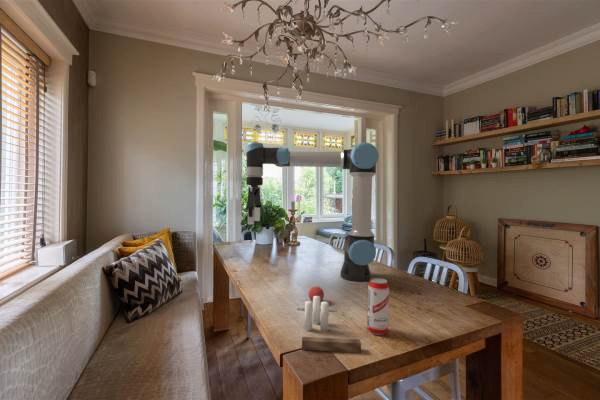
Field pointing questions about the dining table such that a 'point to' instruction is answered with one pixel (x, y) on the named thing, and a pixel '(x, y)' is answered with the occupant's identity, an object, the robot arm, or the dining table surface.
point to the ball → (316, 293)
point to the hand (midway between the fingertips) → (254, 222)
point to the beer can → (378, 306)
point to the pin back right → (324, 316)
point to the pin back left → (308, 315)
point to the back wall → (331, 344)
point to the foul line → (320, 309)
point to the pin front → (316, 310)
